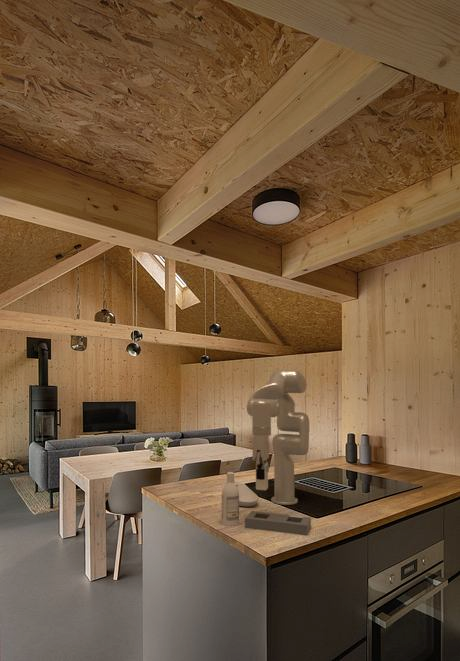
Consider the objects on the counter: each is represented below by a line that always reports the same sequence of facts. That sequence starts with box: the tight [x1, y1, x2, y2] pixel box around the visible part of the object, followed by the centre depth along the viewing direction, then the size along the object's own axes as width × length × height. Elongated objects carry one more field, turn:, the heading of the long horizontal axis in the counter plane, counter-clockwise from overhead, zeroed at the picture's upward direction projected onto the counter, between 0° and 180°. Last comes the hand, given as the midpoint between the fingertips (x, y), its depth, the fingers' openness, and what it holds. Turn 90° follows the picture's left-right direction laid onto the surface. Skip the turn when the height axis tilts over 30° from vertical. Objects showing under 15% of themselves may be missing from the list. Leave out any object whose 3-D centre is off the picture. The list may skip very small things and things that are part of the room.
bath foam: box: [221, 471, 240, 527], centre depth 167 cm, size 7×7×20 cm
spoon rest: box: [236, 483, 260, 508], centre depth 198 cm, size 24×12×7 cm, turn 12°
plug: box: [255, 461, 270, 491], centre depth 166 cm, size 4×5×10 cm
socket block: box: [244, 510, 312, 536], centre depth 161 cm, size 10×24×4 cm, turn 71°
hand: (261, 477), depth 166 cm, fingers closed on plug, 4 cm apart
